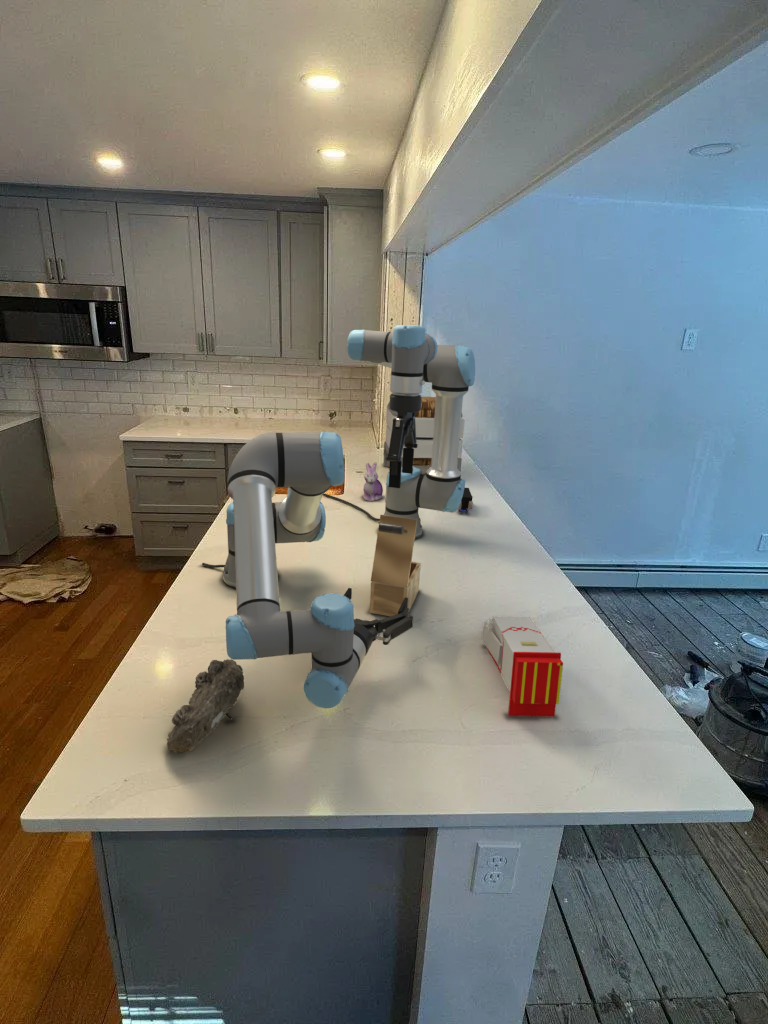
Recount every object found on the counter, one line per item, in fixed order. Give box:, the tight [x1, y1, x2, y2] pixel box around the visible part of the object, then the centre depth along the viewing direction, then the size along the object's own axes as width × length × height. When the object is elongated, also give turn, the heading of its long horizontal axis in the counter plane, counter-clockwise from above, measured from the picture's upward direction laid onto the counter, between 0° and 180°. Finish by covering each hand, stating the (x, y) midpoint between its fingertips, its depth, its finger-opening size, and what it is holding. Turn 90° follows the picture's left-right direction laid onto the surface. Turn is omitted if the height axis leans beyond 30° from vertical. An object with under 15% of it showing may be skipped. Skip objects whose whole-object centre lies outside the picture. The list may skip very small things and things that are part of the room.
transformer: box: [383, 396, 465, 472], centre depth 268 cm, size 34×33×41 cm
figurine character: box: [456, 487, 474, 514], centre depth 226 cm, size 7×8×15 cm
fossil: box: [166, 658, 245, 754], centre depth 106 cm, size 22×10×15 cm
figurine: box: [362, 461, 384, 502], centre depth 233 cm, size 9×10×15 cm
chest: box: [369, 561, 422, 617], centre depth 152 cm, size 16×10×9 cm, turn 165°
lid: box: [370, 514, 417, 587], centre depth 140 cm, size 17×10×8 cm
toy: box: [481, 615, 564, 718], centre depth 123 cm, size 12×13×30 cm
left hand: (377, 597), depth 133 cm, fingers open, 13 cm apart
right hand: (401, 479), depth 141 cm, fingers open, 13 cm apart
